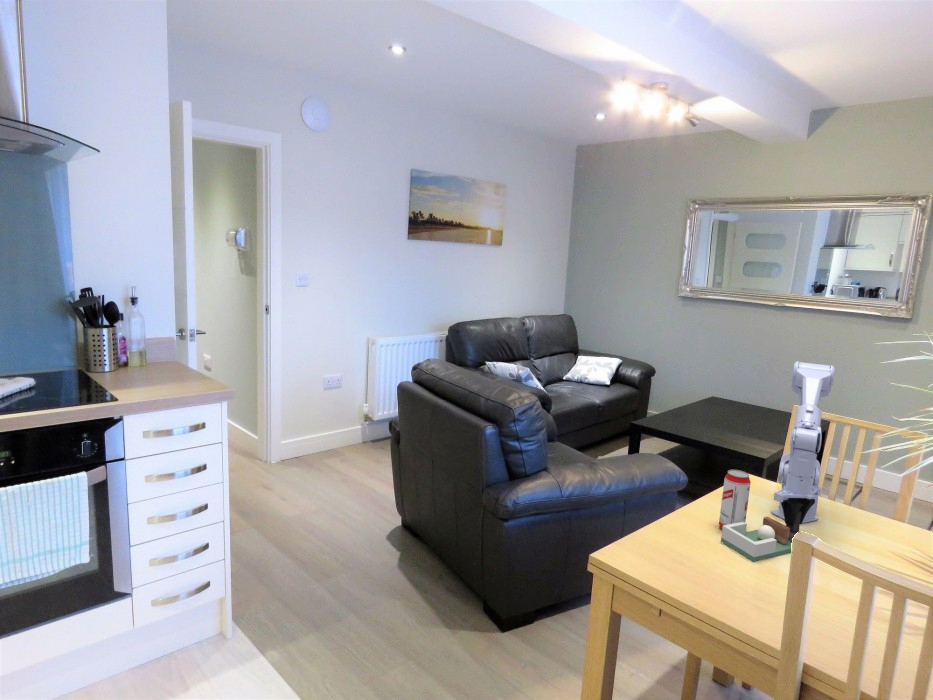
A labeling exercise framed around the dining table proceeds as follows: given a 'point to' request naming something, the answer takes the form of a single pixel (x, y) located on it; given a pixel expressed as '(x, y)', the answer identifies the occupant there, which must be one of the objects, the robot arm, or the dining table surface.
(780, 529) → the slider
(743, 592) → the dining table surface
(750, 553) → the pitch
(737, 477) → the beer can
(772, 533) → the ball
